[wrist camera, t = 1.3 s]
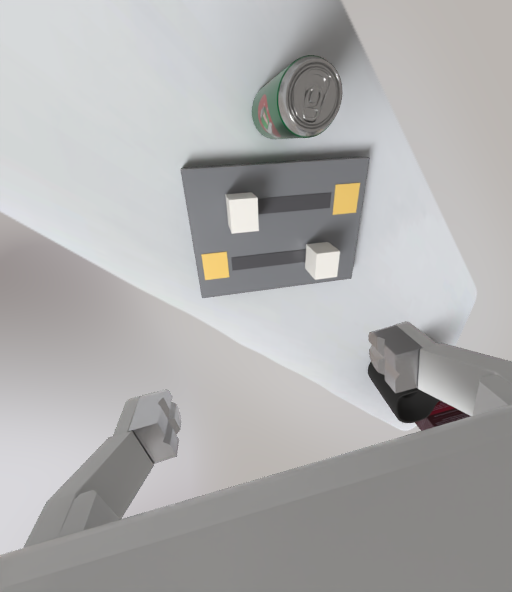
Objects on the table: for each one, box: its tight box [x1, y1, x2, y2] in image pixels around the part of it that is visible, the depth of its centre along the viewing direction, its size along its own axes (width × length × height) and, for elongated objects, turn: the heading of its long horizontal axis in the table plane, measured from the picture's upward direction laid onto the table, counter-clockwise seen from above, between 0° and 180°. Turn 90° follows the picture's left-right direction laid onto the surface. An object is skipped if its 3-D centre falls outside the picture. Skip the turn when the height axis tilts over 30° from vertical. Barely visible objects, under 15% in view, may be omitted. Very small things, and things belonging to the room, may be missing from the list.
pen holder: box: [368, 362, 440, 423], centre depth 50 cm, size 9×9×10 cm
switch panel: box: [181, 157, 369, 298], centre depth 35 cm, size 16×22×2 cm
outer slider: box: [305, 242, 340, 280], centre depth 35 cm, size 4×3×4 cm
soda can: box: [252, 55, 342, 139], centre depth 25 cm, size 5×5×12 cm
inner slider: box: [225, 192, 259, 234], centre depth 30 cm, size 4×3×4 cm
